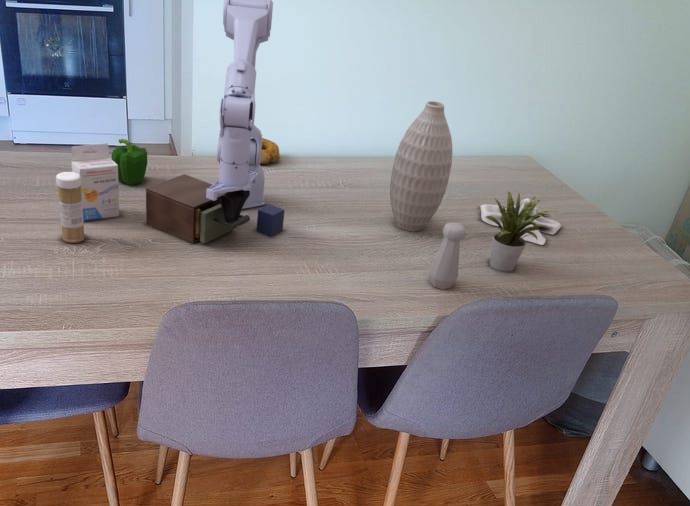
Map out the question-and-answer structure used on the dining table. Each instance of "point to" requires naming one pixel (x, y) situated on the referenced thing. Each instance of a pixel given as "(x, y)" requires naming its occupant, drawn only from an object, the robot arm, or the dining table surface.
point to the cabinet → (176, 205)
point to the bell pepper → (130, 162)
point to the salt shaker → (447, 257)
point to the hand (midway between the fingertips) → (231, 223)
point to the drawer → (214, 222)
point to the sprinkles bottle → (70, 206)
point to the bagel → (269, 152)
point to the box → (270, 220)
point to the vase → (421, 169)
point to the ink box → (97, 181)
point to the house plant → (512, 233)
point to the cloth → (549, 229)
